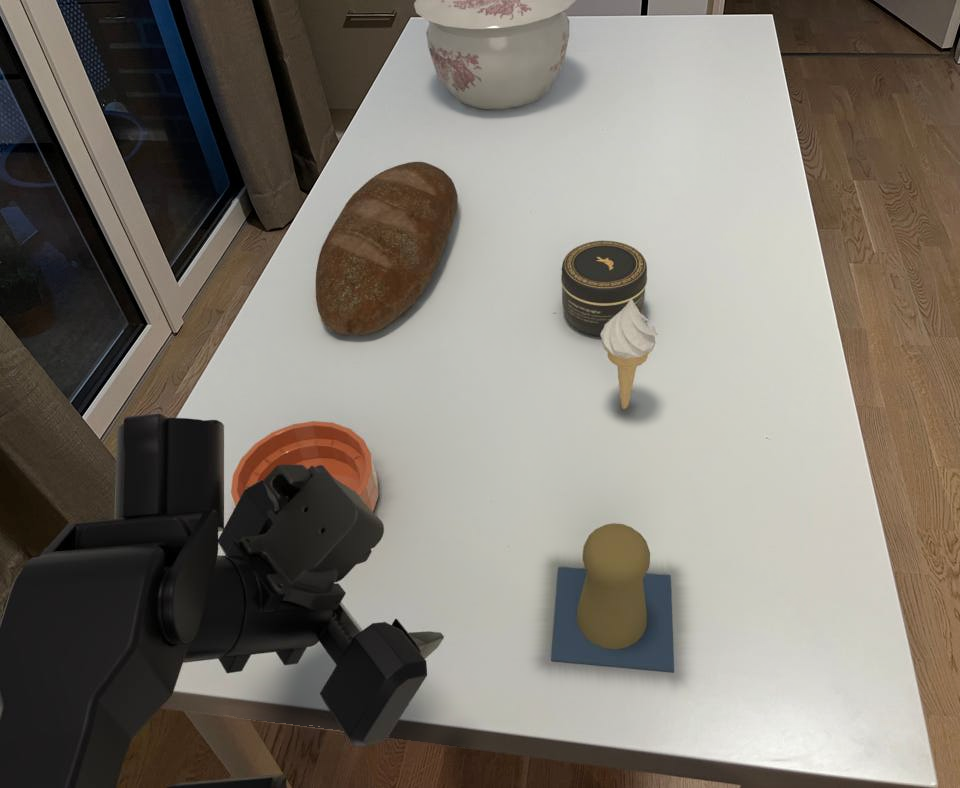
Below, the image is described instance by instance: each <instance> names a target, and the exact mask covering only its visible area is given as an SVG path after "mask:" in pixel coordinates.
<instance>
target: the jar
mask: <svg viewBox="0 0 960 788" xmlns="http://www.w3.org/2000/svg"><path fill="white" fill-rule="evenodd" d="M560 277H561V280H560V282H561V302H562V303H561V304H562V309H563V312H564V314H565V318H566V320H567V321H568V323H569V324H570V325H571V327H574V328H575V330H577V331H578V332H580V333H583V334H586V335H590V336H593V337H601V335H600V334H601V332H602V330H603V328H604V325H605V324H606V323H607V322H609V321H610V320H611V319H612V318H613V317H614V316H615V315H616V314H617V313H619V312H620V311H621V310H622V309H623V308H624V307H625V306H626V305H627V304H628V302H629V301H630V300H631V299H632V300H633V302H634V304H635V305H636V307H637V308H638V309H639V312H640V313H641V314H642V312H643V309H644V305H645V294H646V287H647V284H648V266H647V261H646V259H645V257H644V255H643V254H642V253H641V252H640V251H639V250H638V249H636V248H635V247H633V246H632V245H629V244H626V243H624V242H619V241H615V240H595V241H589V242H586V243H583V244H580V245H578V246H576V247H574V248H573V249H571V250H570V251H569V252H567V254H566V255H565V257H564V258H563V261H562V264H561V276H560Z"/></svg>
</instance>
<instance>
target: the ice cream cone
mask: <svg viewBox="0 0 960 788" xmlns="http://www.w3.org/2000/svg"><path fill="white" fill-rule="evenodd" d="M647 322H649V319H648V318H647V317H646V316H645V315H644V314H642V312H641V313H640V312H639V309H638V308H637V307H636V305H635V304H634V302H633V300H632V299H631V300H630V301H629V302H628V304H627V305H626V306H625V307H624V308H623V309H622V310H621V311H620V312H619V313H617V314H616V315H615V316H614V317H613V318H612V319H611V320H610V321H609V322H607V323H606V324H605V325H604V328H603V330H602V332H601V334H600V335H601V336H600V339H601V344H602V347H603V349H604V351H606V353H607V358H608V360H609V361H610V362H611V364H613V365H615V366H616V367H617V379H618V387H619V388H618V389H619V395H620V396H619V397H620V406H621V408H622V409H623V410H626V409H627V408H628V407H629V404H630V398H631V394H632V389H633V385H634V381H635V376H636V370H637V367H639V366H641V365H643V364H644V363H646V361H647V359H648V357H649V356H648V355H649V354H650V353H651V352H653V350H654V348H655V346H656V345H655V344H657V343H656V338H655V336H658V335H659V334H658V332H657V330H656V327H655V326H654V325H651V326H650V325H648V324H647Z"/></svg>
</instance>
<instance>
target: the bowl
mask: <svg viewBox="0 0 960 788" xmlns="http://www.w3.org/2000/svg"><path fill="white" fill-rule="evenodd" d="M277 465H303V466H305V467H307V468H308V469H309V468H310V467H311V466H314V467H316V466H318V465H323V466H324V467H325V468H326V470H327V471H328V472H329V473H330V474H331V475H332V476H333V477H334V478H335V479H336V480H338V481H339V482H341V483H343V484H344V485H346V486H347V487H349V488H350V489H352V490H354V491H355V492H356V493H357V494H358V495H359V496H360V498H361V499H362V500H363V501H364V503H365V504H366V505H367V506H368V507H369V508H370V509H371V510H372V512H373V513H374V510H375V507H376V504H377V501H378V497H379V481H378V480H379V479H378V476H377V475H378V474H377V471H376V468H375V464H374V461H373V456H372V453H371V451H370V449H369V447H368V445H367V444H366V441H365V440H364V439H363V438H362V437H361V436H360V435H359V434H357V433H356V432H355V431H353V430H352V429H351V428H348V427H346V426H343V425H340V424H338V423H336V422H329V421H318V420H317V421H316V420H315V421H314V420H312V421H305V422H299V423H294V424H290V425H287V426H285V427H282V428H280V429H277V430H275V431H272V432H271V433H269V434H267V435H266V436H265V437H262V439H260V440H259V441H257V442H256V443H254V444H253V445H252V446H251V447H250V448H249V449H248V451H247V452H246V453H245V454H244V455H243V456H242V457H241V458H240V460H239V462H238V464H237V466H236V468H235V470H234V471H233V474H232V480H231V481H232V482H231V489H230V495H231V497H232V499H233V503H234V506H235V507H236V505H237V503H238V501H239V500H240V498H241V496H242V494H243V492H244V490H245V489H246V488H248V487H250V486H251V485H253V484H255V483H257V482H259V481H261V480H264V479H265V478H266V477H267V476H268V475H269V473H270V472H271V471H272V470H273V469H274V468H275V467H276V466H277Z"/></svg>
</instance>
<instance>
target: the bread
mask: <svg viewBox="0 0 960 788" xmlns="http://www.w3.org/2000/svg"><path fill="white" fill-rule="evenodd" d="M458 201H459V197H458V191H457V189H456V185H455V184H454V181H453V179H452V178H451V177H450V176H449V175H448V174H447V173H446V171H444V170H443V169H441V168H439V167H438V166H436V165H433V164H431V163H428V162H424V161H410V162H405V163H401V164H398V165H394V166H392V167H390V168H387V169H385V170H383V171H381V172H379V173H378V174H375V175H374V176H373V177H371V178H370V179H368V181H367V182H365V183H364V184H363V185H362V186H360V188H358V190H356V191H355V192H354V193H353V194H352V195H351V197H350V198H349V199H348V201H347V202H345V205H344V206H343V208H342V210H341V211H340V213H339V215H338V216H337V219H336V220H335V221H334V222H333V225H332V227H331V229H330V230H329V232H328V234H327V236H326V238H325V240H324V242H323V244H322V246H321V248H320V252H319V255H318V260H317V265H316V271H315V302H316V308H317V311H318V314H319V316H320V319H321V321H322V322H323V323H324V324H325V326H326V327H327V328H328V329H329V330H331V331H333V332H334V333H337V334H341V335H347V336H349V335H350V336H352V335H353V336H359V335H361V336H362V335H369V334H372V333H375V332H377V331H380V330H381V329H383V328H385V327H386V326H388V325H389V324H391V323H392V322H394V320H396V319H397V318H398V317H400V316H401V315H402V314H403V313H404V312H405V311H406V310H408V309H409V308H410V307H411V306H412V305H413V304H414V303H415V302H416V301H417V300H418V299H419V298H420V297H421V295H422V294H423V293H424V291H425V290H426V288H427V287H428V285H429V284H430V282H431V280H432V278H433V276H434V273H435V271H436V270H437V267H438V265H439V263H440V261H441V258H442V257H443V256H442V255H443V253H444V249H445V246H446V243H447V241H448V238H449V235H450V232H451V230H452V227H453V225H454V222H455V219H456V216H457V213H458V208H459V207H458V205H459V204H458V203H459V202H458Z"/></svg>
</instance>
